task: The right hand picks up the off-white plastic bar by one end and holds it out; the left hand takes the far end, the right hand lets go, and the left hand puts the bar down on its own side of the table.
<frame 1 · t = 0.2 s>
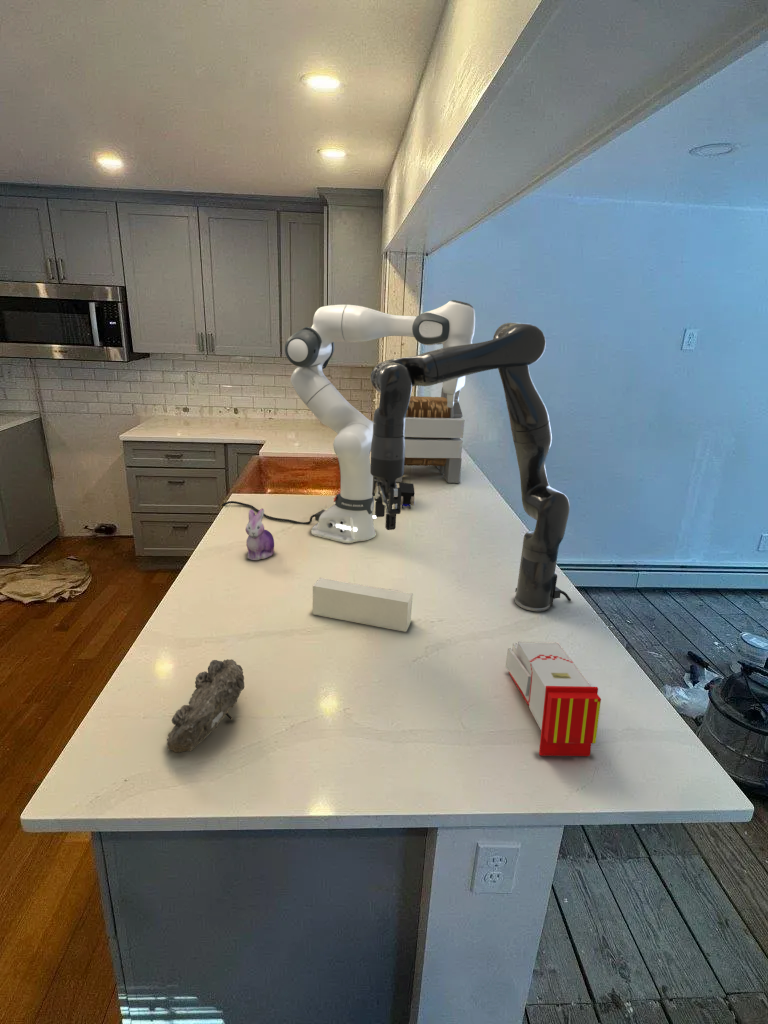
left hand: (452, 404, 174), 48 cm above the counter, tool pointing down, fingers open, 8 cm apart
right hand: (384, 522, 131), 28 cm above the counter, tool pointing down, fingers open, 8 cm apart
fossil: (212, 717, 108), on the counter
figurine: (260, 555, 178), on the counter
figurine character: (405, 505, 230), on the counter
toy: (542, 706, 115), on the counter
transformer: (419, 473, 275), on the counter
bar: (361, 618, 145), on the counter
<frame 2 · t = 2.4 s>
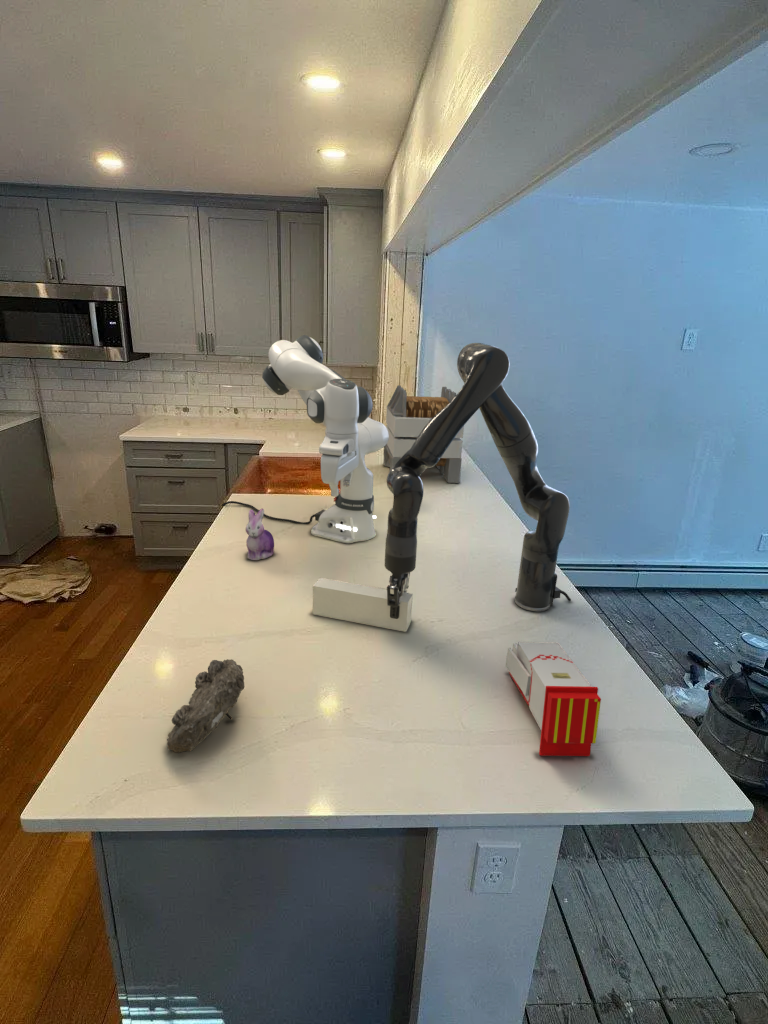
left hand: (341, 491, 156), 27 cm above the counter, tool pointing down, fingers open, 8 cm apart
right hand: (397, 612, 141), 4 cm above the counter, tool pointing down, fingers closed on bar, 5 cm apart
bar: (361, 618, 145), on the counter, touching right hand
everything else where it was.
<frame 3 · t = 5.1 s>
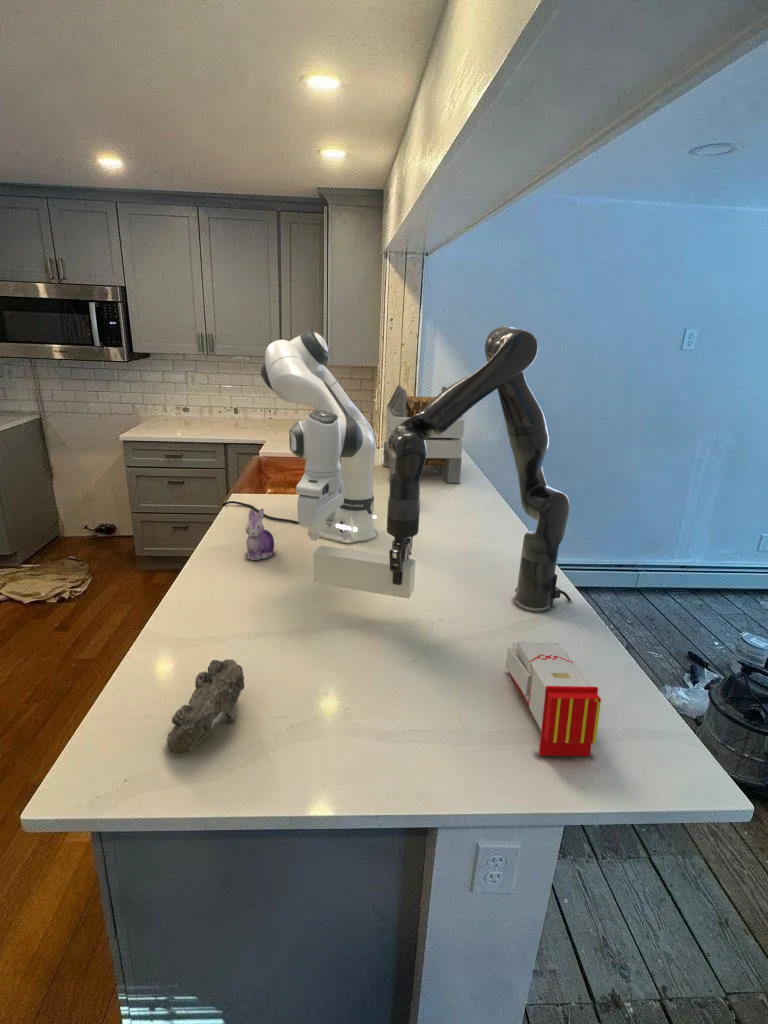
left hand: (322, 532, 142), 21 cm above the counter, tool pointing down, fingers open, 8 cm apart
right hand: (400, 578, 138), 13 cm above the counter, tool pointing down, fingers closed on bar, 5 cm apart
bar: (363, 586, 142), point 9 cm above the counter, touching right hand
everything else where it was.
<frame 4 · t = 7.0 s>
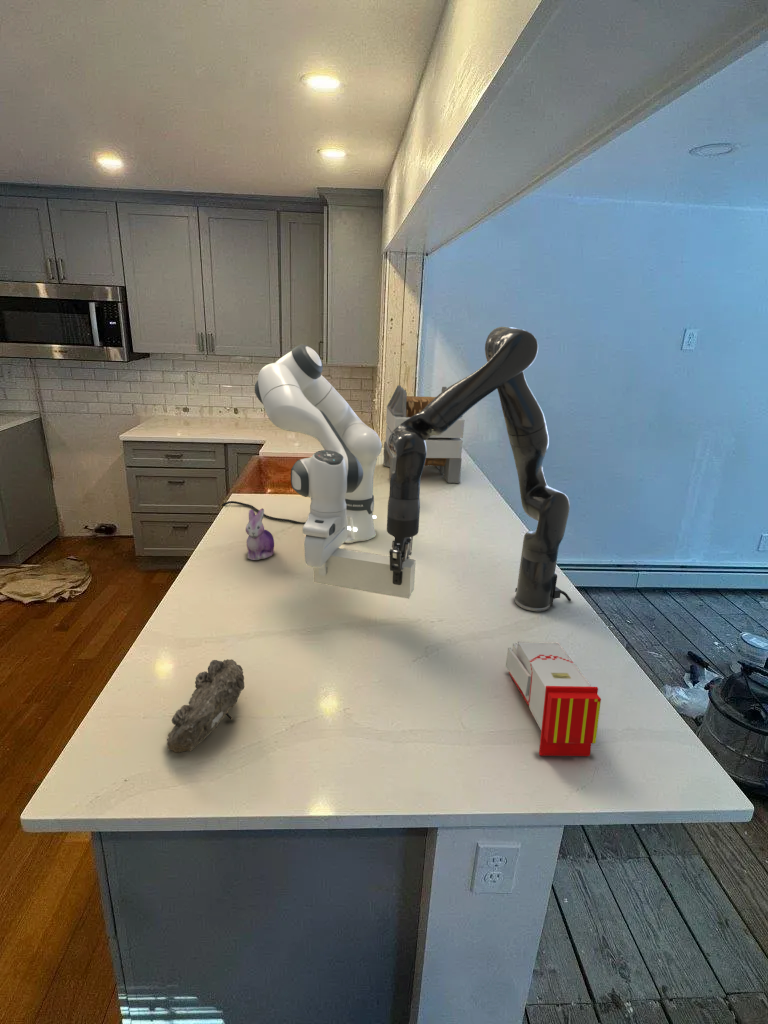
left hand: (327, 569, 143), 12 cm above the counter, tool pointing down, fingers closed on bar, 5 cm apart
right hand: (400, 578, 138), 13 cm above the counter, tool pointing down, fingers closed on bar, 5 cm apart
bar: (363, 586, 142), point 9 cm above the counter, touching left hand, right hand
everything else where it was.
when the right hand's fingers open (13 cm above the counter, at t = 8.0 s): bar stays where it is, held by the left hand.
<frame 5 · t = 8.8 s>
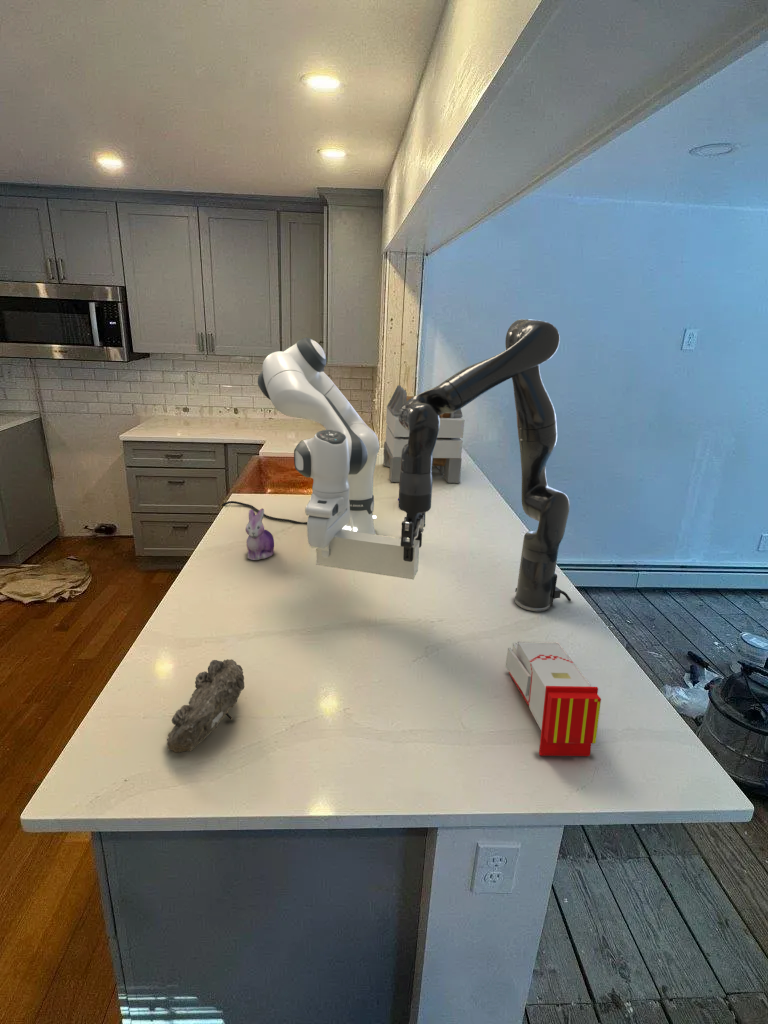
left hand: (330, 551, 141), 17 cm above the counter, tool pointing down, fingers closed on bar, 5 cm apart
right hand: (412, 553, 135), 20 cm above the counter, tool pointing down, fingers open, 8 cm apart
bar: (366, 567, 140), point 14 cm above the counter, touching left hand
everything else where it was.
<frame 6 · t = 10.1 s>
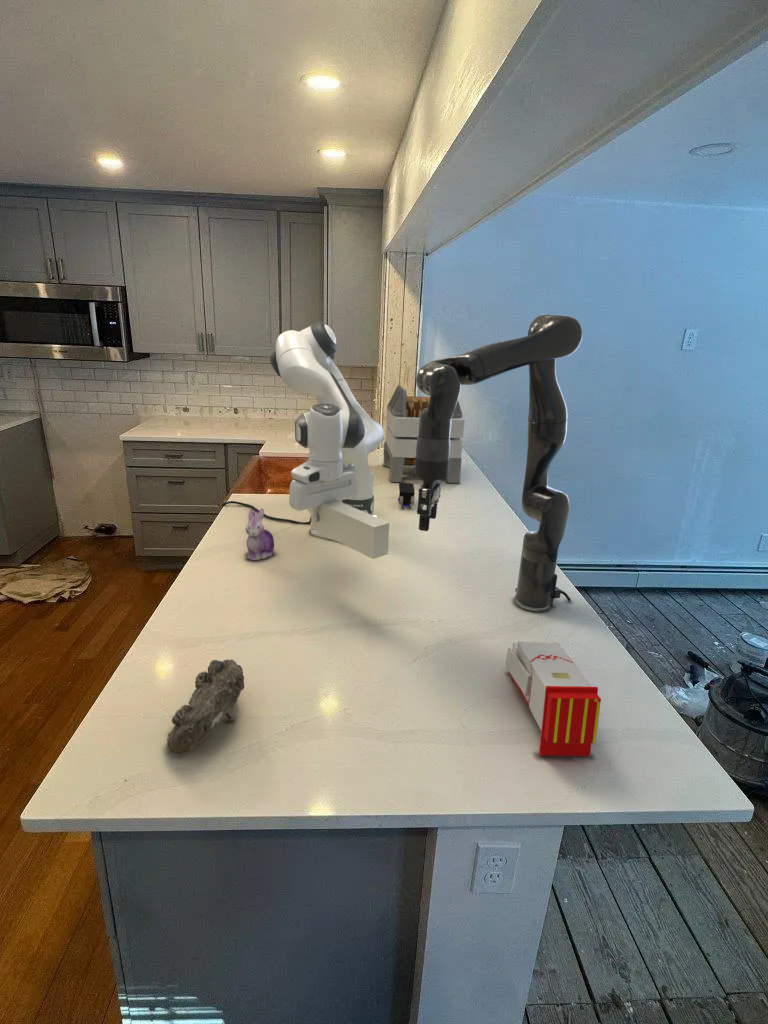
left hand: (324, 518, 150), 22 cm above the counter, tool pointing down, fingers closed on bar, 5 cm apart
right hand: (427, 523, 131), 28 cm above the counter, tool pointing down, fingers open, 8 cm apart
bar: (347, 540, 145), point 18 cm above the counter, touching left hand
everything else where it was.
when the left hand's fingers open (4 cm above the counter, at t = 13.3 s): bar stays where it is, on the counter.
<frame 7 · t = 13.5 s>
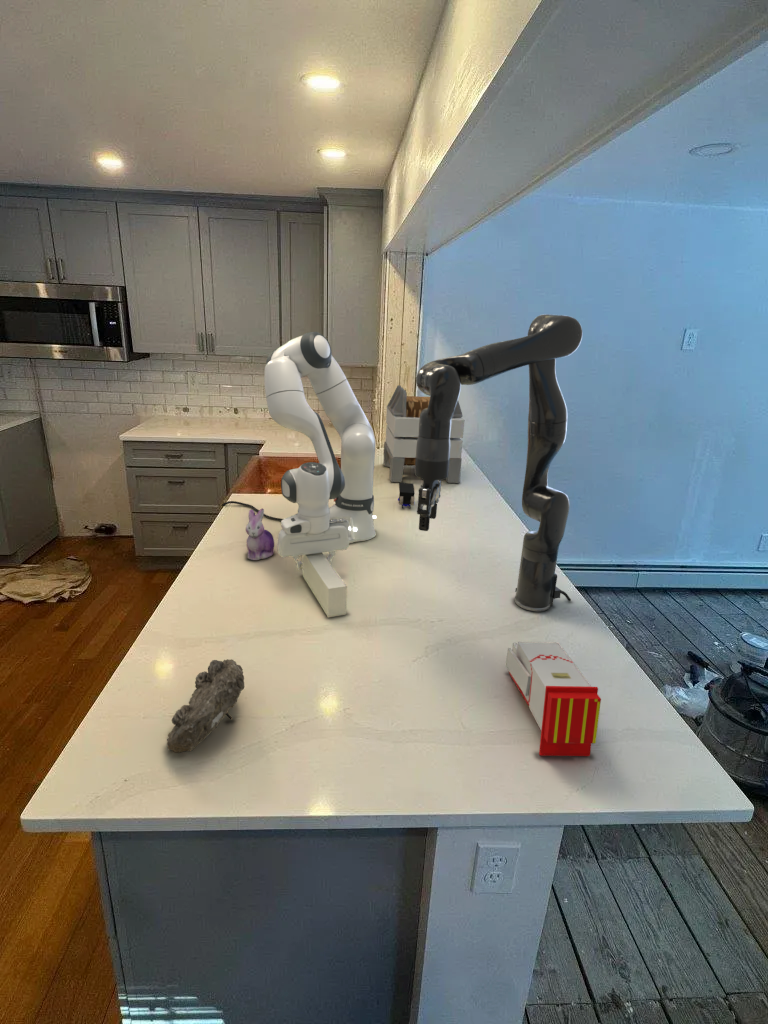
left hand: (313, 566, 163), 4 cm above the counter, tool pointing down, fingers open, 7 cm apart
right hand: (427, 523, 131), 28 cm above the counter, tool pointing down, fingers open, 8 cm apart
bar: (323, 594, 156), on the counter
everything else where it was.
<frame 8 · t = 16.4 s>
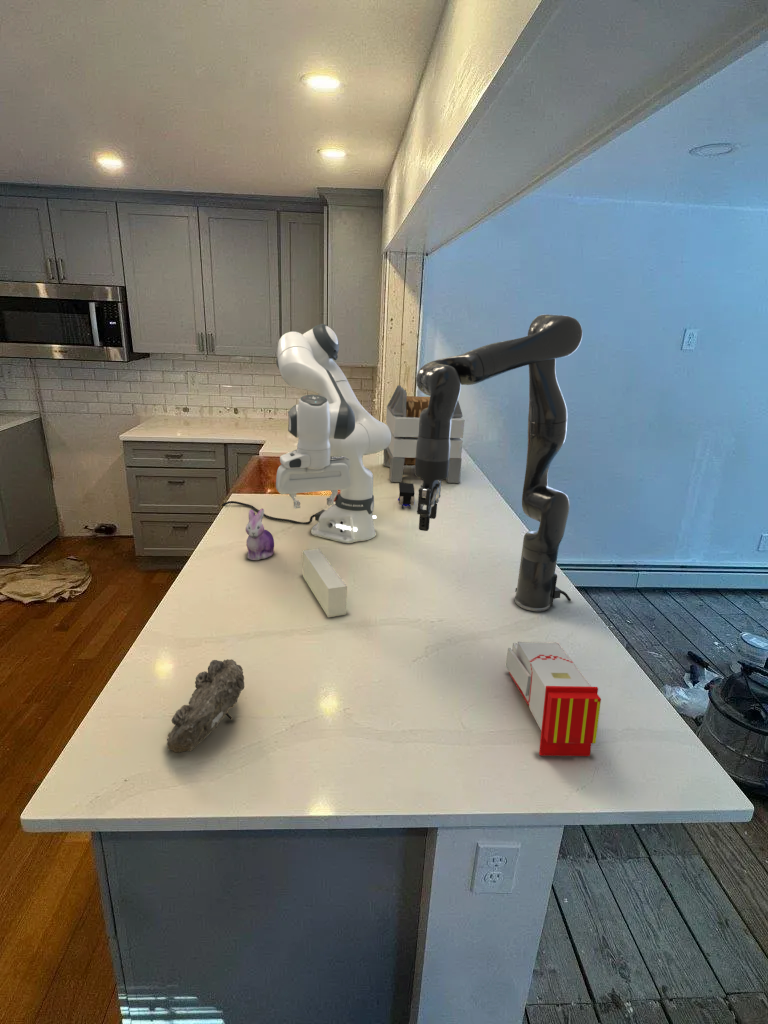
left hand: (313, 506, 156), 23 cm above the counter, tool pointing down, fingers open, 8 cm apart
right hand: (427, 523, 131), 28 cm above the counter, tool pointing down, fingers open, 8 cm apart
nothing on the counter moved.
at the end: bar inside the target area (9.2 cm from its centre), on the counter; the left hand is holding nothing; the right hand is holding nothing; bar at rest at the end (0.0 cm/s) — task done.
